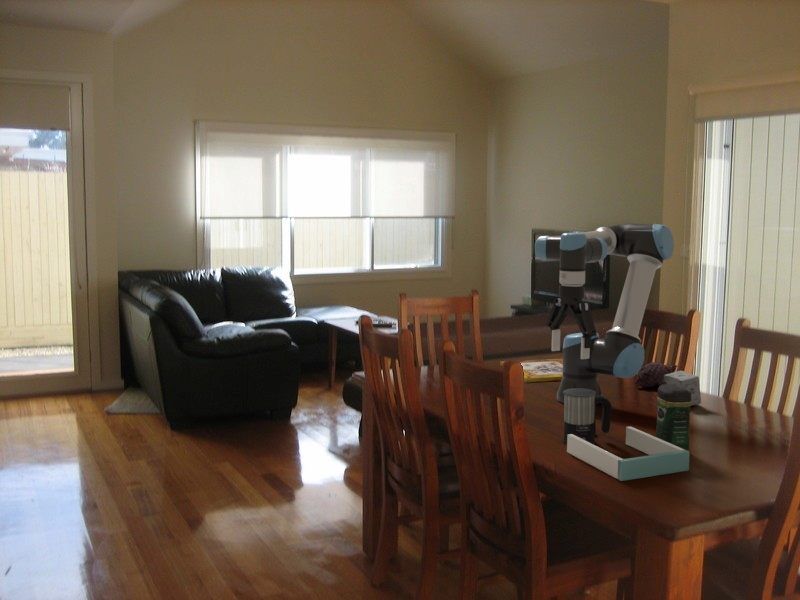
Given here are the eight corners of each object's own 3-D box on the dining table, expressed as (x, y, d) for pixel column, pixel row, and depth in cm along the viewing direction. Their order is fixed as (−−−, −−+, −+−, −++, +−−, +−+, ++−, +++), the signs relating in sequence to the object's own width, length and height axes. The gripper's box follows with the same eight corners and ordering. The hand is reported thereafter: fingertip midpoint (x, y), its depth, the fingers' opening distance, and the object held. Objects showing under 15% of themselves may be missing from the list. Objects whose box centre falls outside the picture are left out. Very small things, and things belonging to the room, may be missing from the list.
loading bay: (566, 452, 234) (567, 434, 233) (630, 443, 241) (630, 426, 241) (621, 481, 211) (621, 461, 210) (688, 470, 219) (689, 451, 218)
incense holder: (662, 401, 287) (663, 371, 285) (682, 399, 289) (684, 369, 288) (680, 409, 278) (681, 378, 276) (701, 406, 280) (702, 376, 279)
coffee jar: (693, 455, 230) (696, 389, 228) (665, 457, 229) (668, 390, 227) (677, 445, 240) (680, 381, 237) (650, 446, 239) (653, 382, 236)
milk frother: (574, 448, 237) (575, 397, 235) (543, 433, 251) (544, 384, 249) (615, 442, 242) (617, 391, 240) (582, 427, 257) (584, 380, 255)
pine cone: (645, 392, 299) (633, 367, 302) (635, 399, 308) (623, 374, 311) (687, 376, 303) (675, 351, 306) (676, 383, 312) (663, 359, 315)
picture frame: (562, 358, 349) (593, 374, 320) (562, 363, 349) (593, 380, 320) (499, 361, 343) (525, 378, 314) (499, 366, 344) (525, 383, 314)
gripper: (536, 281, 261) (534, 348, 264) (590, 290, 240) (587, 363, 243) (555, 279, 265) (553, 346, 268) (610, 288, 243) (607, 360, 246)
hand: (569, 354), depth 255 cm, fingers open, 13 cm apart
